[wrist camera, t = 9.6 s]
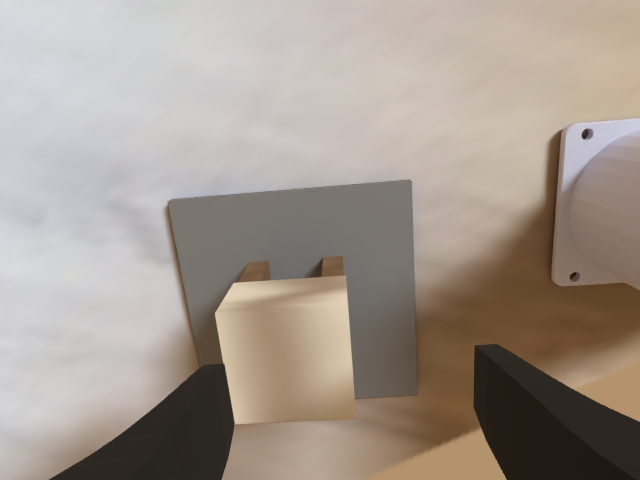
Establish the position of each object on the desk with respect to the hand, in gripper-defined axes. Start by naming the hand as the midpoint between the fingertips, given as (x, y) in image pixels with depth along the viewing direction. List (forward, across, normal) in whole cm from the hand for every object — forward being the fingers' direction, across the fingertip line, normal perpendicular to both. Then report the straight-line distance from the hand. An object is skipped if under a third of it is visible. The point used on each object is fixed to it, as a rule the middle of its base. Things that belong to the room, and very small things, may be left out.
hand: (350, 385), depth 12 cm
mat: (+10, +2, +2) cm, 11 cm away
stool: (+10, +2, +2) cm, 10 cm away
